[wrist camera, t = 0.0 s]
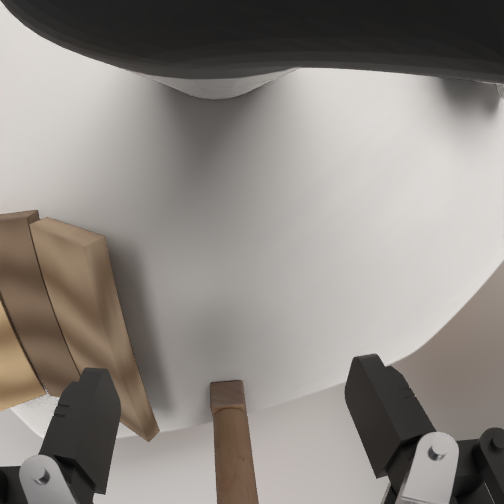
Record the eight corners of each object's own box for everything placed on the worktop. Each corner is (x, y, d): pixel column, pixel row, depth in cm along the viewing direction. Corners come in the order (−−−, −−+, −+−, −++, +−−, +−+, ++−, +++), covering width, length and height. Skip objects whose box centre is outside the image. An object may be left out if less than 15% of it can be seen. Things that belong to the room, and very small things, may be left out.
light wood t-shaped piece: (221, 431, 38) (230, 554, 22) (209, 381, 33) (215, 537, 17) (249, 429, 38) (265, 551, 22) (242, 378, 33) (262, 533, 17)
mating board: (-9, 215, 22) (-21, 223, 21) (37, 209, 23) (26, 217, 21) (55, 384, 32) (50, 395, 30) (95, 388, 33) (92, 400, 31)
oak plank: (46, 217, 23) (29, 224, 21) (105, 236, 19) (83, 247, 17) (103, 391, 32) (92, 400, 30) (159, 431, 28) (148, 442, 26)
